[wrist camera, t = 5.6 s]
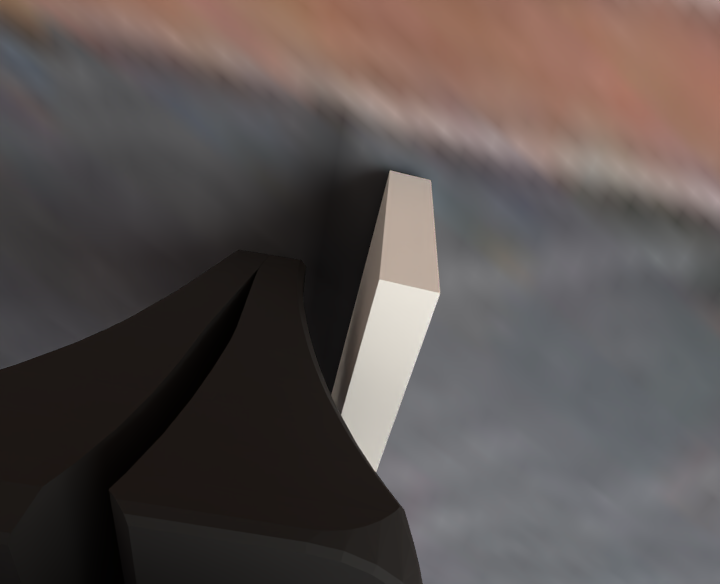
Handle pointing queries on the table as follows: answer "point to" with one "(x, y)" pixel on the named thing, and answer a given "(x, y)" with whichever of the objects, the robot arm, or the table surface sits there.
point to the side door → (389, 314)
